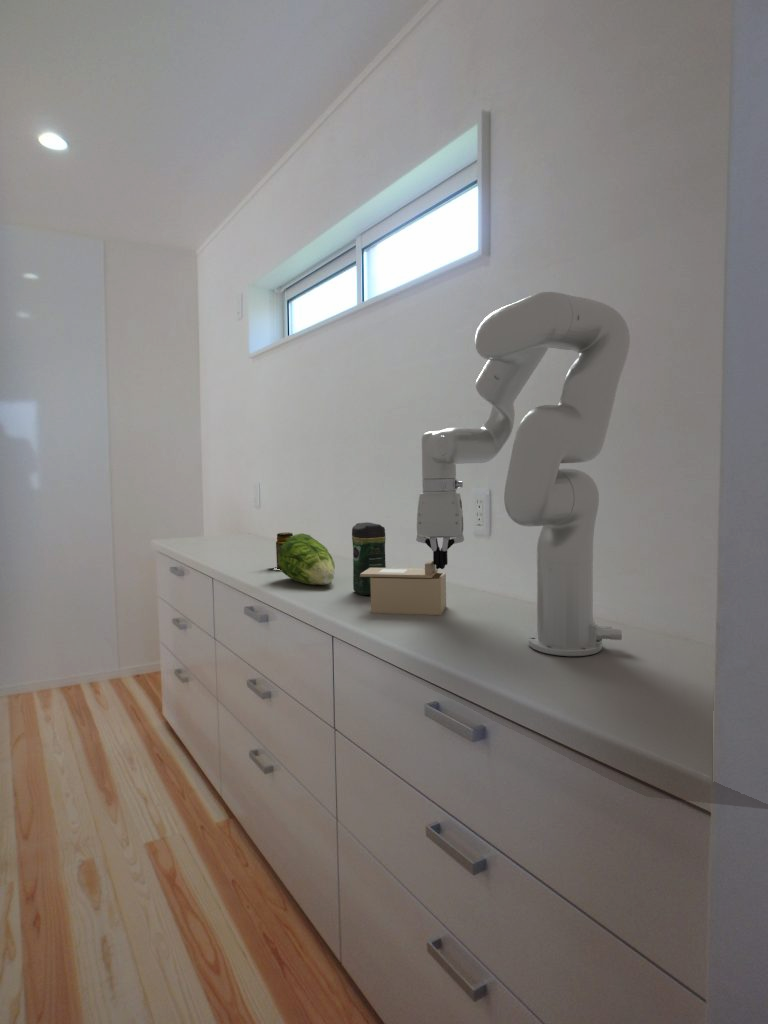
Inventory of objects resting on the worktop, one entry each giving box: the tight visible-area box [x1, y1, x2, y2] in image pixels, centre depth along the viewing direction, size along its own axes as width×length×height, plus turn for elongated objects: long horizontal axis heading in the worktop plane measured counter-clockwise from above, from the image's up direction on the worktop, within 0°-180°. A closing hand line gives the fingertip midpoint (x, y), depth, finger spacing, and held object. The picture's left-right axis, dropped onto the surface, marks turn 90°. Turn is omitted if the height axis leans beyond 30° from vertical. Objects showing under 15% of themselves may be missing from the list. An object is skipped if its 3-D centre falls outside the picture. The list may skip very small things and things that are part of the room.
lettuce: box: [278, 533, 336, 586], centre depth 170 cm, size 14×23×13 cm, turn 31°
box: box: [370, 572, 447, 616], centre depth 135 cm, size 16×8×8 cm, turn 76°
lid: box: [360, 558, 439, 578], centre depth 135 cm, size 16×9×3 cm, turn 76°
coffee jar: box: [351, 522, 387, 596], centre depth 155 cm, size 10×8×19 cm
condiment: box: [267, 532, 294, 572], centre depth 196 cm, size 7×8×12 cm
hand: (440, 567), depth 133 cm, fingers closed
